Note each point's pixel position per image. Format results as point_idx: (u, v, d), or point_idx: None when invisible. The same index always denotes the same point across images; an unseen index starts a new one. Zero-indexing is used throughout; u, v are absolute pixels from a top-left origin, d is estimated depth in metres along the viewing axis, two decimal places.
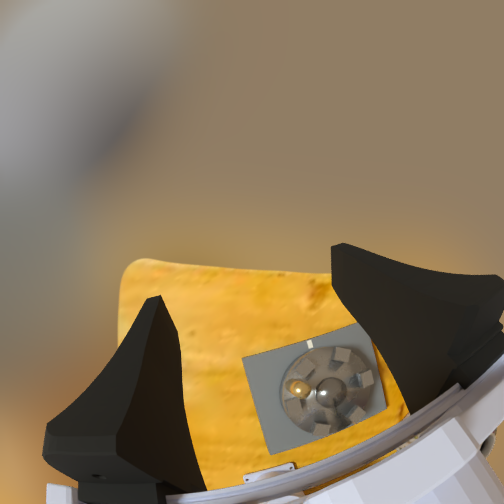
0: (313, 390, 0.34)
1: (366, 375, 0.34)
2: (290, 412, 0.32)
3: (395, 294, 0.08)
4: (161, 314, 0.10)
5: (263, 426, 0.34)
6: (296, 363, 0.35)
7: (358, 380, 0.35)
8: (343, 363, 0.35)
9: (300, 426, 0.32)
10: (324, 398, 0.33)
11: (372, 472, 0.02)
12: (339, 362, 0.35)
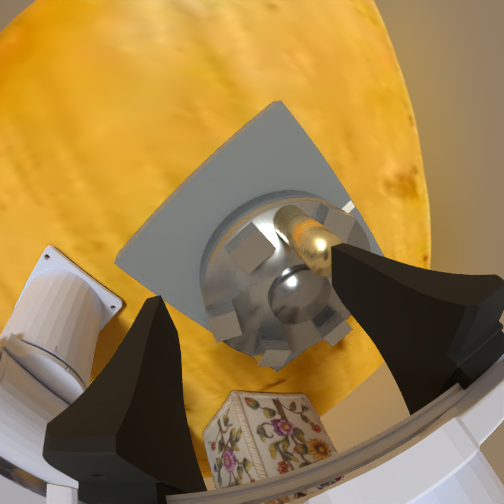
0: (291, 263, 0.18)
1: (343, 329, 0.21)
2: (237, 251, 0.16)
3: (395, 294, 0.08)
4: (161, 314, 0.10)
5: (162, 214, 0.18)
6: (329, 204, 0.18)
7: (327, 320, 0.22)
8: None
9: (210, 284, 0.17)
10: (289, 293, 0.18)
11: (372, 472, 0.02)
12: None
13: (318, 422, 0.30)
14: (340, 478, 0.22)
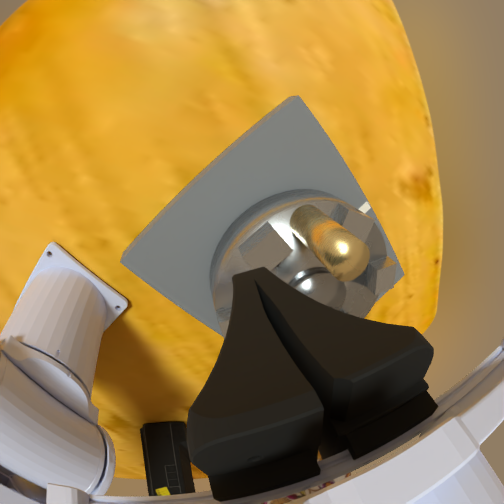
0: (306, 265, 0.17)
1: None
2: (252, 252, 0.15)
3: (289, 335, 0.07)
4: None
5: (172, 211, 0.17)
6: (347, 204, 0.17)
7: None
8: (364, 286, 0.20)
9: (221, 286, 0.17)
10: None
11: (372, 472, 0.02)
12: (364, 279, 0.19)
13: None
14: None
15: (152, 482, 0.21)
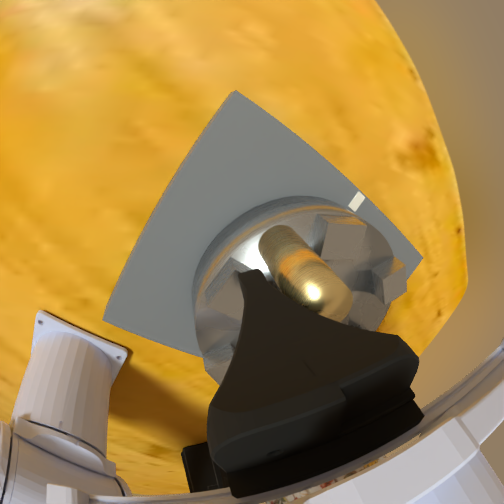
0: None
1: None
2: (217, 299, 0.12)
3: None
4: None
5: (133, 262, 0.15)
6: (330, 211, 0.13)
7: None
8: (371, 295, 0.17)
9: (200, 332, 0.14)
10: None
11: (372, 472, 0.02)
12: (371, 287, 0.16)
13: None
14: None
15: None
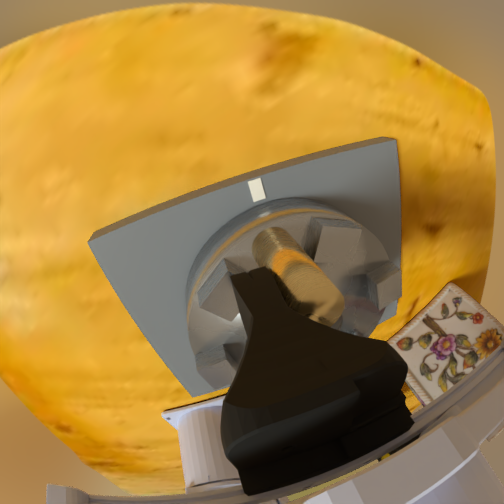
0: None
1: None
2: (209, 300, 0.12)
3: None
4: None
5: (168, 363, 0.19)
6: (325, 214, 0.13)
7: None
8: (366, 299, 0.17)
9: (192, 333, 0.14)
10: None
11: (372, 472, 0.02)
12: (365, 292, 0.16)
13: (476, 308, 0.22)
14: None
15: None
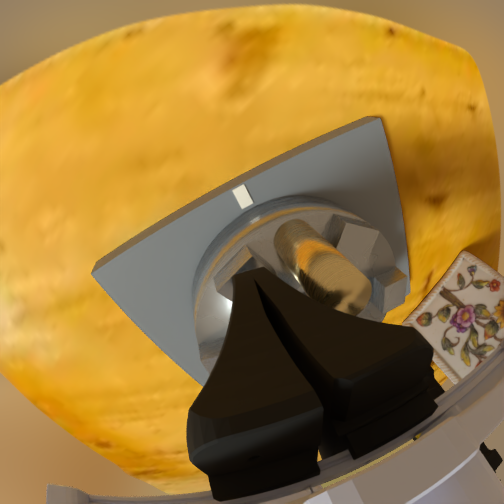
0: (299, 288, 0.15)
1: None
2: (228, 285, 0.12)
3: (289, 335, 0.07)
4: None
5: (190, 372, 0.20)
6: (345, 213, 0.14)
7: None
8: (370, 303, 0.17)
9: (200, 320, 0.14)
10: None
11: (372, 472, 0.02)
12: (371, 295, 0.17)
13: (492, 275, 0.20)
14: None
15: None
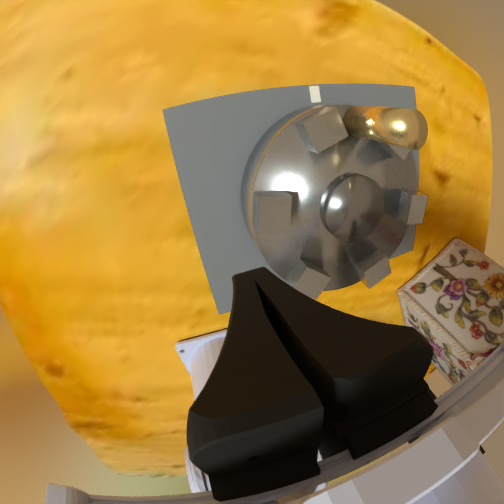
0: (351, 168, 0.16)
1: (383, 268, 0.19)
2: (313, 122, 0.13)
3: (289, 335, 0.07)
4: None
5: (205, 260, 0.20)
6: None
7: (367, 256, 0.20)
8: (394, 216, 0.19)
9: (268, 162, 0.15)
10: (347, 196, 0.16)
11: (372, 472, 0.02)
12: (396, 208, 0.18)
13: (482, 257, 0.24)
14: None
15: None
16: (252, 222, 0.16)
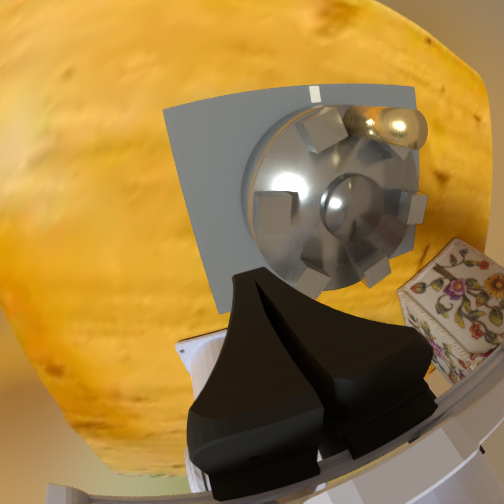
0: (351, 168, 0.16)
1: (383, 268, 0.19)
2: (313, 122, 0.13)
3: (289, 335, 0.07)
4: None
5: (205, 260, 0.20)
6: None
7: (367, 256, 0.20)
8: (394, 216, 0.19)
9: (268, 162, 0.15)
10: (347, 196, 0.16)
11: (372, 472, 0.02)
12: (396, 208, 0.18)
13: (482, 257, 0.24)
14: None
15: None
16: (252, 222, 0.16)
